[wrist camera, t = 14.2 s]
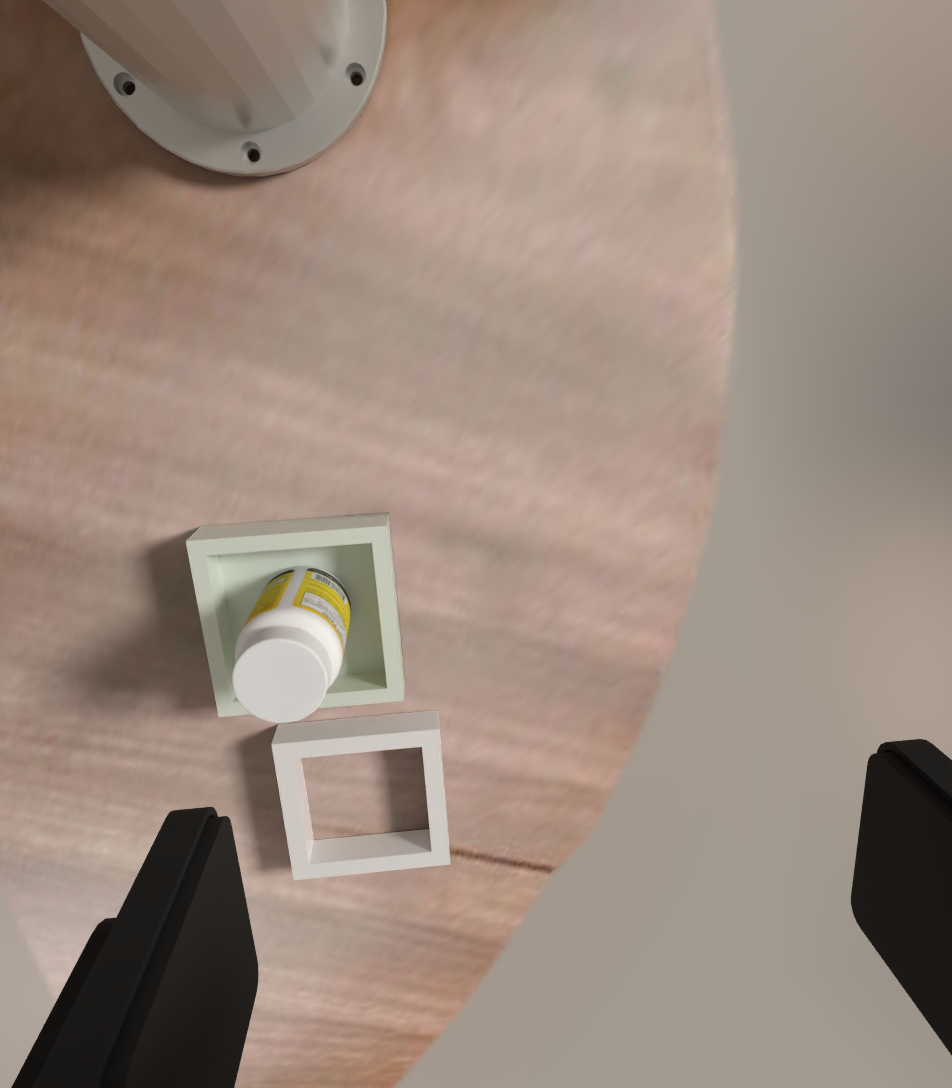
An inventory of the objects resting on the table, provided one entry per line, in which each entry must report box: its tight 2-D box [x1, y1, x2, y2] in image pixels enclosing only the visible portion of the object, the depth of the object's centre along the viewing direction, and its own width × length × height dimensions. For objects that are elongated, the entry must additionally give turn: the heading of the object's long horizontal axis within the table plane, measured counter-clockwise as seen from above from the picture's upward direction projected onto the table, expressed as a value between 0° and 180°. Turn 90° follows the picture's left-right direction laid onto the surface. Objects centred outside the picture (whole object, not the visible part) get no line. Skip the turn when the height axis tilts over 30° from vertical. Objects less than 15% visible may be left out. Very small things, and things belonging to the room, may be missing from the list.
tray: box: [186, 512, 405, 717], centre depth 38 cm, size 10×10×2 cm
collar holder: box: [271, 710, 450, 880], centre depth 42 cm, size 9×9×2 cm
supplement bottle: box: [232, 566, 351, 723], centre depth 35 cm, size 5×5×8 cm
